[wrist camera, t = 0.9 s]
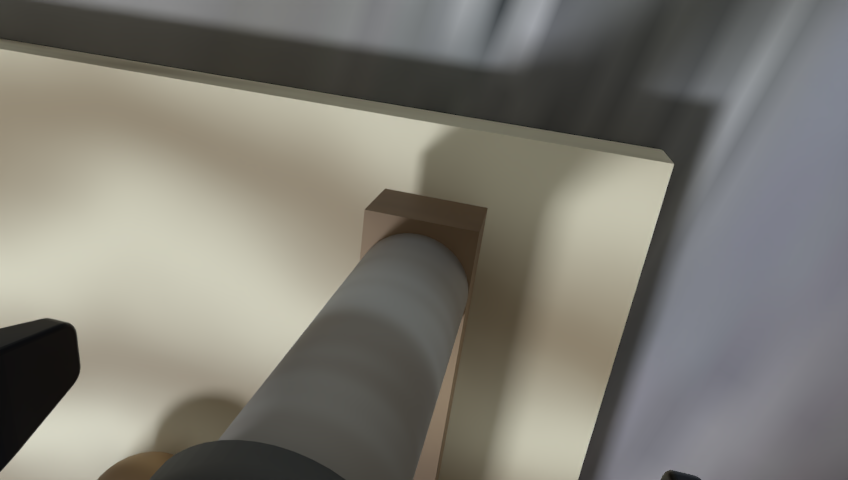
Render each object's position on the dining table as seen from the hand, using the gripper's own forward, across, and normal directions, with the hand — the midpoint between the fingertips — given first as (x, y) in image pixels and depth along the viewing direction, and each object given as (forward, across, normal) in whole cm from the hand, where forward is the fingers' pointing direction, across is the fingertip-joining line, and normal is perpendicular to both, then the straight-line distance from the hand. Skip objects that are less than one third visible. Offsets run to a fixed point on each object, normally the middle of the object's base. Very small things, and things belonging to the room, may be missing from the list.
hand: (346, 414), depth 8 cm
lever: (+6, 0, +7) cm, 9 cm away
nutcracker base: (+8, +5, +7) cm, 12 cm away
